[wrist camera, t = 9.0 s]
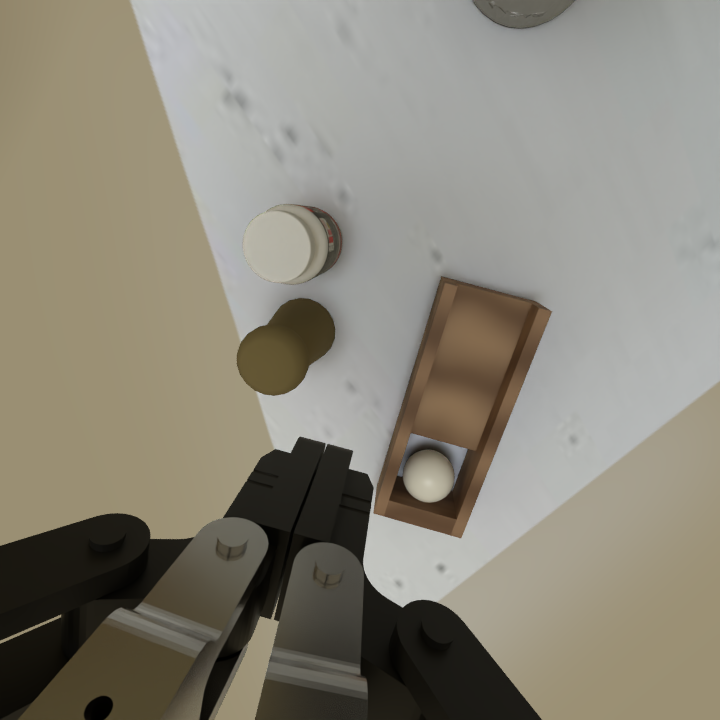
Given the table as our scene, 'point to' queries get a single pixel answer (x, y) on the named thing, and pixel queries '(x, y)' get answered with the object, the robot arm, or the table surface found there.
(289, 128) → the table surface
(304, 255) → the pill bottle
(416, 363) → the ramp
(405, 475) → the ball
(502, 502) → the table surface
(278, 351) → the pepper mill
